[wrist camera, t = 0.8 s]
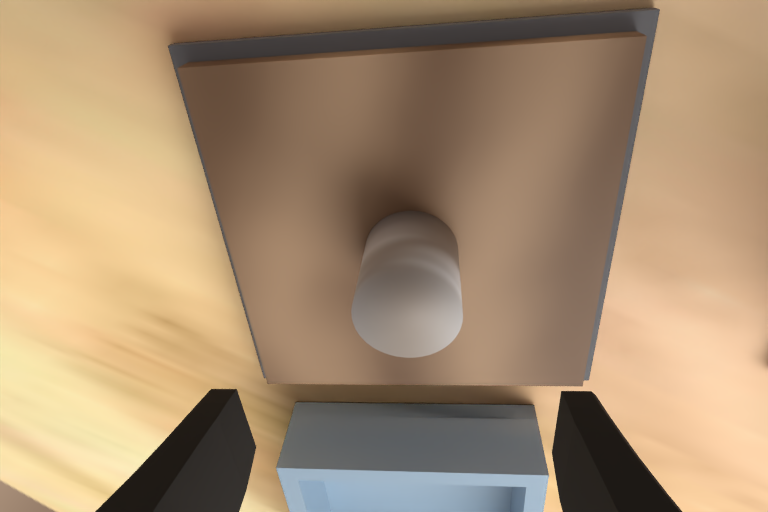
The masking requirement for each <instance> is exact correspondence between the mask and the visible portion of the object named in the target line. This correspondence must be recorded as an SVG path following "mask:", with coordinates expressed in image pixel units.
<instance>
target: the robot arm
mask: <svg viewBox="0 0 768 512" xmlns="http://www.w3.org/2000/svg"><path fill="white" fill-rule="evenodd" d="M255 449H256V445H255V442H254V439H253V436H252V433H251V430H250V427H249V424H248V421H247V418H246V415H245V413H244V410H243V407H242V404H241V401H240V398H239V395H238V392H237V389H211V390H210V391H209V392H208V393H207V394H206V395H205V396H204V398H203V399H202V400H201V401H200V402H199V403H198V404H197V405H196V406H195V407H194V408H193V410H192V411H191V412H190V413H189V414H188V415H187V416H186V417H185V418H184V420H183V421H182V422H181V423H180V424H179V425H178V426H177V427H176V428H175V430H174V431H173V432H172V433H171V434H170V435H169V436H168V437H167V438H166V439H165V441H164V442H163V443H162V444H161V445H160V446H159V447H158V448H157V449H156V450H155V451H154V452H153V453H152V455H151V456H150V457H149V458H148V459H147V460H146V461H145V462H144V463H143V464H142V465H141V466H140V467H139V468H138V469H137V470H136V472H135V473H134V474H133V475H132V476H131V477H130V478H129V479H128V480H127V481H126V482H125V483H124V484H123V485H122V486H121V487H120V488H119V489H118V490H117V491H116V492H115V493H114V494H113V495H112V496H111V497H110V498H109V499H108V500H107V501H106V502H105V503H104V504H103V505H102V506H101V507H99V508H98V509H97V510H96V511H95V512H239V510H240V507H241V504H242V501H243V498H244V495H245V492H246V489H247V485H248V480H249V476H250V472H251V468H252V463H253V459H254V454H255ZM552 455H553V462H554V468H555V474H556V480H557V486H558V492H559V498H560V503H561V506H562V510H563V512H682V511H681V510H680V508H679V507H678V506H677V505H676V504H675V502H674V501H673V500H672V499H671V497H670V496H669V495H668V494H667V493H666V491H665V490H664V489H663V487H662V486H661V485H660V484H659V482H658V481H657V480H656V479H655V477H654V476H653V475H652V473H651V472H650V471H649V470H648V468H647V467H646V466H645V465H644V463H643V462H642V461H641V459H640V458H639V457H638V455H637V454H636V453H635V451H634V450H633V448H632V447H631V446H630V444H629V443H628V442H627V440H626V439H625V437H624V436H623V435H622V433H621V432H620V430H619V429H618V428H617V426H616V425H615V423H614V422H613V420H612V419H611V418H610V416H609V415H608V413H607V412H606V410H605V409H604V407H603V406H602V404H601V403H600V401H599V400H598V398H597V397H596V395H595V394H594V393H593V392H591V391H561V398H560V404H559V411H558V417H557V423H556V430H555V436H554V443H553V449H552Z"/></svg>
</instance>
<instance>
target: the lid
mask: <svg viewBox="0 0 768 512" xmlns="http://www.w3.org/2000/svg"><path fill="white" fill-rule="evenodd" d="M646 39H647V36H646V35H644V34H642V33H640V32H638V31H630V32H616V33H601V34H587V35H573V36H558V37H544V38H529V39H515V40H501V41H486V42H472V43H457V44H443V45H429V46H414V47H400V48H386V49H371V50H357V51H342V52H328V53H314V54H299V55H285V56H271V57H256V58H242V59H227V60H213V61H199V62H188V63H186V64H184V65H182V66H180V67H178V68H177V69H178V73H179V76H180V80H181V83H182V87H183V90H184V94H185V97H186V101H187V104H188V108H189V111H190V115H191V118H192V122H193V125H194V129H195V132H196V135H197V139H198V142H199V146H200V149H201V153H202V156H203V160H204V163H205V167H206V170H207V174H208V177H209V181H210V184H211V188H212V191H213V195H214V198H215V202H216V205H217V209H218V212H219V216H220V219H221V223H222V226H223V230H224V233H225V237H226V240H227V244H228V247H229V251H230V254H231V258H232V261H233V265H234V268H235V272H236V275H237V278H238V282H239V285H240V289H241V292H242V296H243V299H244V303H245V306H246V310H247V313H248V317H249V320H250V324H251V327H252V331H253V334H254V338H255V341H256V345H257V348H258V352H259V355H260V359H261V362H262V366H263V369H264V373H265V376H266V380H267V383H268V384H356V385H487V386H583V381H584V376H585V370H586V365H587V359H588V354H589V348H590V343H591V338H592V332H593V327H594V321H595V316H596V310H597V305H598V299H599V294H600V289H601V283H602V278H603V272H604V267H605V261H606V256H607V251H608V245H609V240H610V234H611V229H612V223H613V218H614V213H615V207H616V202H617V196H618V191H619V185H620V180H621V175H622V169H623V164H624V158H625V153H626V147H627V142H628V137H629V131H630V126H631V120H632V115H633V109H634V104H635V98H636V93H637V88H638V82H639V77H640V71H641V66H642V60H643V55H644V50H645V44H646Z"/></svg>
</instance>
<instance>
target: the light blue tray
mask: <svg viewBox="0 0 768 512" xmlns="http://www.w3.org/2000/svg"><path fill="white" fill-rule="evenodd" d="M276 469H277V472H278V476H279V479H280V482H281V485H282V488H283V492H284V495H285V498H286V501H287V504H288V508H289V511H290V512H543V510H544V503H545V497H546V490H547V484H548V477H549V474H548V469H547V464H546V460H545V455H544V450H543V445H542V441H541V436H540V431H539V426H538V422H537V417H536V412H535V407H534V405H487V404H403V403H319V402H296V403H295V406H294V409H293V413H292V416H291V420H290V423H289V426H288V430H287V433H286V436H285V440H284V443H283V446H282V450H281V453H280V457H279V460H278V463H277V467H276Z"/></svg>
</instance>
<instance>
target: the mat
mask: <svg viewBox="0 0 768 512" xmlns="http://www.w3.org/2000/svg"><path fill="white" fill-rule="evenodd" d="M659 11H660V9H657V8H644V9H630V10H617V11H603V12H590V13H576V14H563V15H550V16H536V17H523V18H509V19H496V20H482V21H469V22H455V23H442V24H428V25H415V26H402V27H388V28H375V29H361V30H348V31H334V32H321V33H307V34H294V35H280V36H267V37H254V38H240V39H227V40H213V41H200V42H186V43H174V44H171V45H169V46H168V48H169V51H170V55H171V58H172V62H173V65H174V69H175V72H176V76H177V79H178V82H179V86H180V89H181V93H182V96H183V100H184V103H185V107H186V110H187V114H188V117H189V120H190V124H191V127H192V131H193V134H194V138H195V141H196V145H197V148H198V152H199V155H200V158H201V162H202V165H203V169H204V172H205V176H206V179H207V183H208V186H209V189H210V193H211V196H212V200H213V203H214V207H215V210H216V214H217V217H218V221H219V224H220V227H221V231H222V234H223V238H224V241H225V245H226V248H227V252H228V255H229V259H230V262H231V265H232V269H233V272H234V276H235V279H236V283H237V286H238V290H239V293H240V297H241V300H242V303H243V307H244V310H245V314H246V317H247V321H248V324H249V328H250V331H251V335H252V338H253V341H254V345H255V348H256V352H257V355H258V359H259V362H260V366H261V369H262V372H263V376H264V378H266V376H265V373H264V369H263V366H262V362H261V359H260V355H259V352H258V348H257V345H256V341H255V338H254V334H253V331H252V327H251V324H250V320H249V317H248V313H247V310H246V306H245V303H244V299H243V296H242V292H241V289H240V285H239V282H238V278H237V275H236V272H235V268H234V265H233V261H232V258H231V254H230V251H229V247H228V244H227V240H226V237H225V233H224V230H223V226H222V223H221V219H220V216H219V212H218V209H217V205H216V202H215V198H214V195H213V191H212V188H211V184H210V181H209V177H208V174H207V170H206V167H205V163H204V160H203V156H202V153H201V149H200V146H199V142H198V139H197V135H196V132H195V129H194V125H193V122H192V118H191V115H190V111H189V108H188V104H187V101H186V97H185V94H184V90H183V87H182V83H181V80H180V76H179V73H178V69H177V68H178V67H180V66H182V65H184V64H186V63H188V62H199V61H213V60H227V59H242V58H256V57H271V56H285V55H299V54H314V53H328V52H342V51H357V50H371V49H386V48H400V47H414V46H429V45H443V44H457V43H472V42H486V41H501V40H515V39H529V38H544V37H558V36H573V35H587V34H601V33H616V32H630V31H638V32H640V33H642V34H644V35H646V36H647V39H646V44H645V50H644V55H643V60H642V66H641V71H640V77H639V82H638V88H637V93H636V98H635V104H634V109H633V115H632V120H631V126H630V131H629V137H628V142H627V147H626V153H625V158H624V164H623V169H622V175H621V180H620V185H619V191H618V196H617V202H616V207H615V213H614V218H613V223H612V229H611V234H610V240H609V245H608V251H607V256H606V261H605V267H604V272H603V278H602V283H601V289H600V294H599V299H598V305H597V310H596V316H595V321H594V327H593V332H592V338H591V343H590V348H589V354H588V359H587V365H586V370H585V376H584V380H589V376H590V371H591V366H592V361H593V355H594V350H595V345H596V340H597V335H598V329H599V324H600V319H601V314H602V308H603V303H604V298H605V293H606V288H607V282H608V277H609V272H610V267H611V261H612V256H613V251H614V246H615V241H616V235H617V230H618V225H619V220H620V215H621V209H622V204H623V199H624V194H625V188H626V183H627V178H628V173H629V168H630V162H631V157H632V152H633V147H634V141H635V136H636V131H637V126H638V121H639V115H640V110H641V105H642V100H643V95H644V89H645V84H646V79H647V74H648V68H649V63H650V58H651V53H652V48H653V42H654V37H655V32H656V27H657V21H658V16H659Z"/></svg>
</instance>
